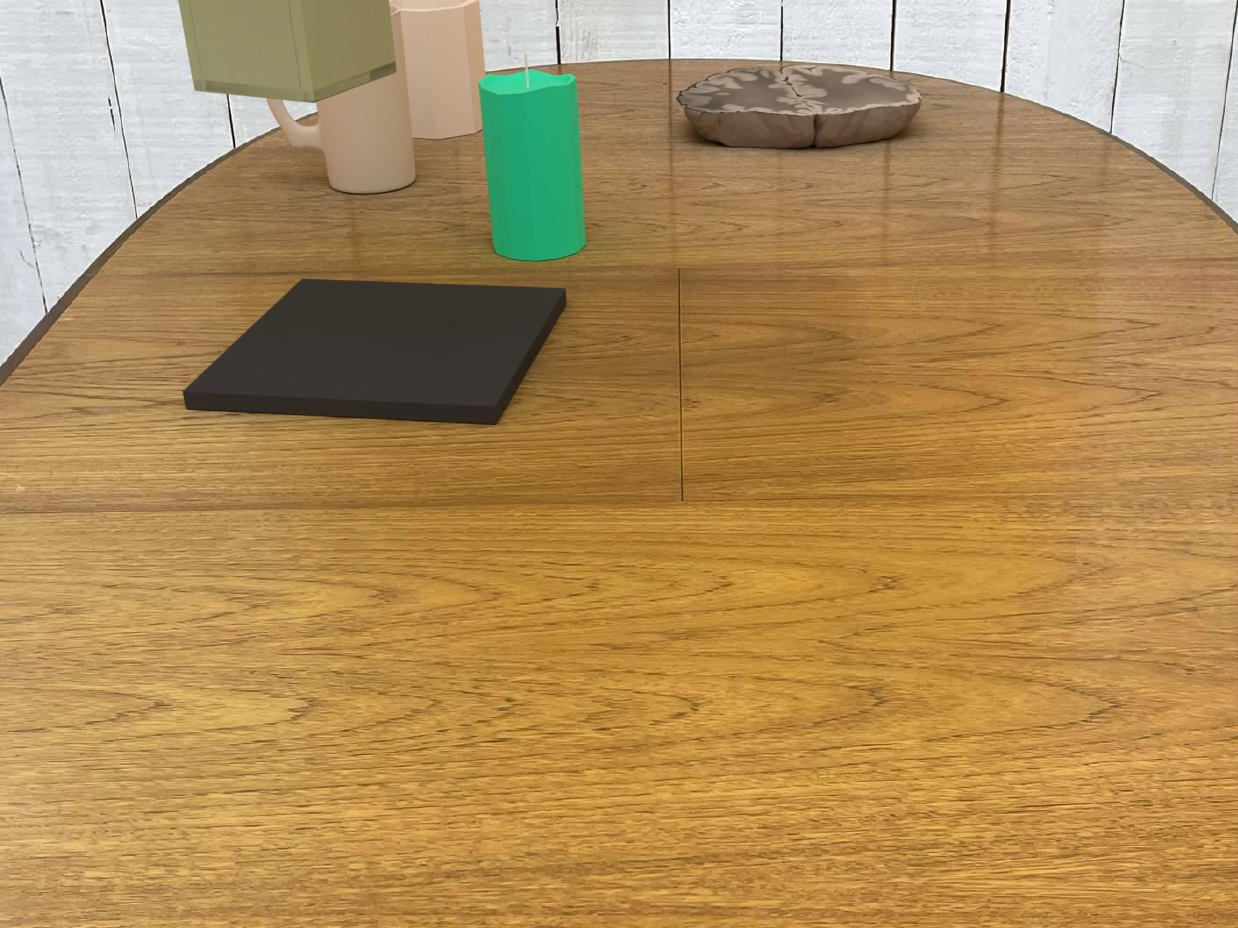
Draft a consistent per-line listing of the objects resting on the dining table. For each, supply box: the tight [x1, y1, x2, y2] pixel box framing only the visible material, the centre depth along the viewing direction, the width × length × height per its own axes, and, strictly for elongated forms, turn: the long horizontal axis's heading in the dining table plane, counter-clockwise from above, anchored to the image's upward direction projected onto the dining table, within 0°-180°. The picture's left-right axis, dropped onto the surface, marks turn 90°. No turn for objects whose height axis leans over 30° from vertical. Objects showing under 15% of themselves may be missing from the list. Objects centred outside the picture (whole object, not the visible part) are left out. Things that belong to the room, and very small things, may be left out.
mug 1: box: [265, 4, 417, 195], centre depth 101 cm, size 10×7×12 cm, turn 100°
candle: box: [478, 53, 587, 262], centre depth 89 cm, size 6×6×12 cm
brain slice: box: [675, 64, 923, 149], centre depth 116 cm, size 20×17×3 cm
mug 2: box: [389, 0, 487, 140], centre depth 116 cm, size 12×9×10 cm
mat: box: [182, 278, 567, 425], centre depth 77 cm, size 16×16×1 cm
